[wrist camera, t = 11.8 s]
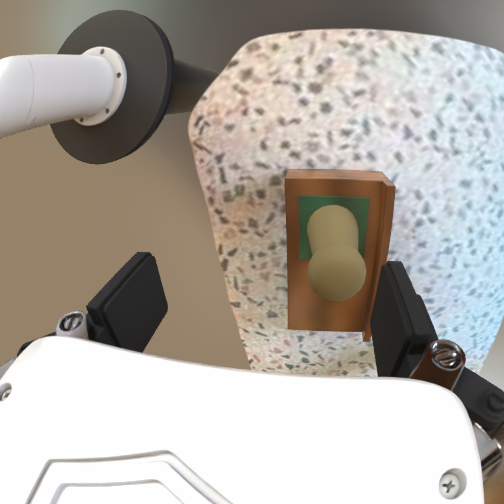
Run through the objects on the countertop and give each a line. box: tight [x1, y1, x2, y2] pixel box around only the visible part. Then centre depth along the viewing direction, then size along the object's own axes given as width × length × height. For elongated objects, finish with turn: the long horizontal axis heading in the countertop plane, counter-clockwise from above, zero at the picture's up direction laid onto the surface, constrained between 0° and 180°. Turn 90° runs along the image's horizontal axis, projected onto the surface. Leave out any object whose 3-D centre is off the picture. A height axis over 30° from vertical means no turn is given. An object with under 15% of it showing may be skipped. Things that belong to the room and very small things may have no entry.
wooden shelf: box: [285, 169, 395, 342], centre depth 36 cm, size 12×22×7 cm, turn 4°
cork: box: [307, 205, 366, 301], centre depth 28 cm, size 6×6×11 cm
